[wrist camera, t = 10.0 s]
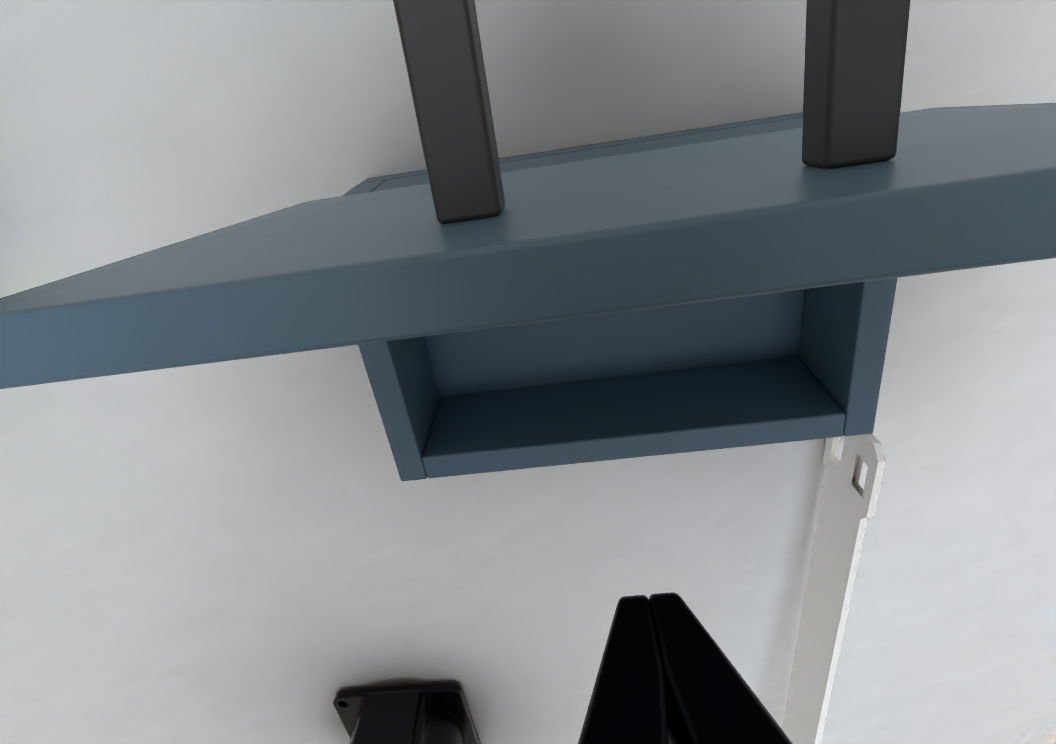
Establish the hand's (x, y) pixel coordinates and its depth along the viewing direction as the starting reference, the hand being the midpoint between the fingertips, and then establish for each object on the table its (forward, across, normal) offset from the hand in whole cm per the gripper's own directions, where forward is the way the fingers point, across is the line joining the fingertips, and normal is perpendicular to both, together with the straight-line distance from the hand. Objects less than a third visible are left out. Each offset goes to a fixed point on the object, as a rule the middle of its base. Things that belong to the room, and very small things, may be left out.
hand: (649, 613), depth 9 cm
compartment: (+12, 0, -1) cm, 12 cm away
